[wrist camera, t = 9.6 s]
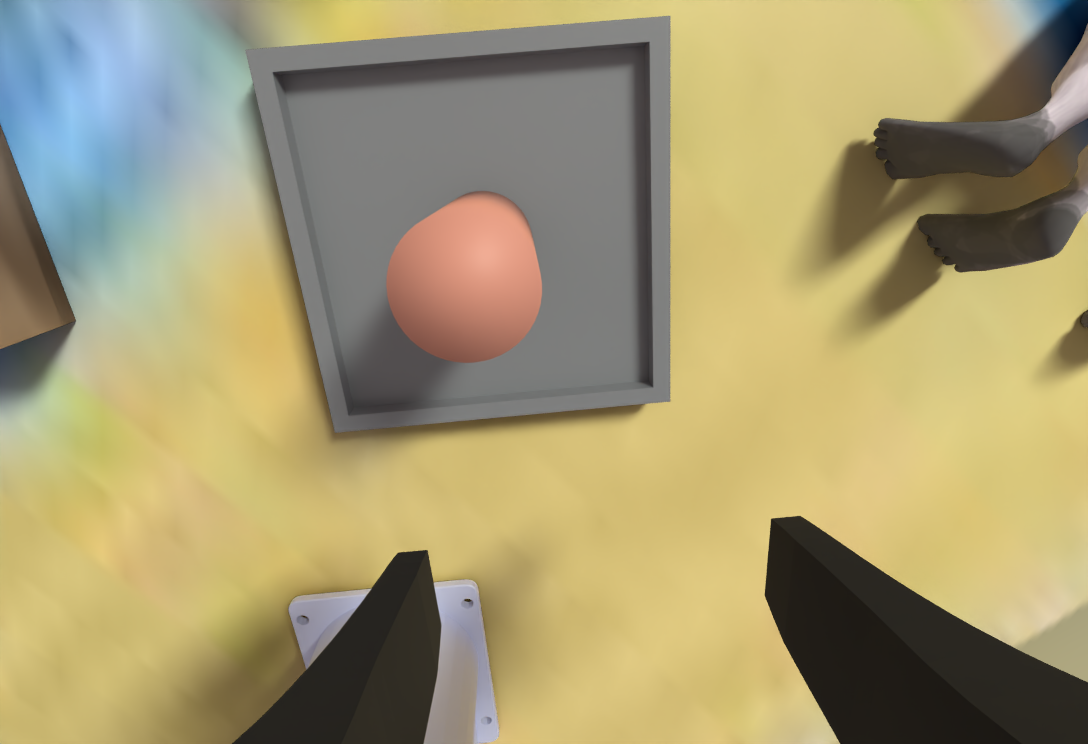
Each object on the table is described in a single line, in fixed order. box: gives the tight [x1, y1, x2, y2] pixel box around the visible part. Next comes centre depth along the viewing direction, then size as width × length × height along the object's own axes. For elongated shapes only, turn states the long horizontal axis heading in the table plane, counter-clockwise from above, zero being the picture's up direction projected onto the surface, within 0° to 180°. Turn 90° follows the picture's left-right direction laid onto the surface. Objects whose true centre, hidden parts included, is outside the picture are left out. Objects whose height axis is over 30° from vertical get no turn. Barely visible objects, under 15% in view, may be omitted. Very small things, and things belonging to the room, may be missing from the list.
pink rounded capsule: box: [386, 191, 542, 363], centre depth 15 cm, size 3×3×8 cm
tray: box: [246, 16, 670, 433], centre depth 19 cm, size 12×12×2 cm
